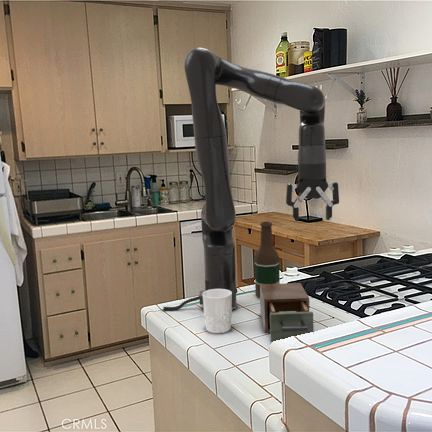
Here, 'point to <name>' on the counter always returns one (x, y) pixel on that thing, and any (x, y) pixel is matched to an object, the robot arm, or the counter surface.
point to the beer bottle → (266, 260)
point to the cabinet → (280, 297)
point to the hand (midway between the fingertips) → (312, 220)
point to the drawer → (289, 319)
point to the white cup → (217, 310)
